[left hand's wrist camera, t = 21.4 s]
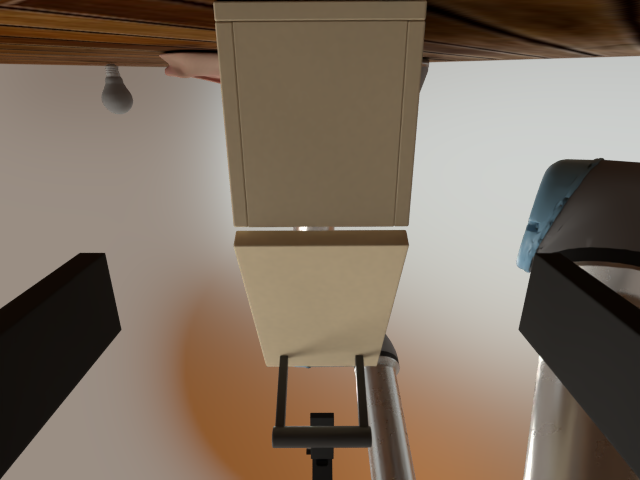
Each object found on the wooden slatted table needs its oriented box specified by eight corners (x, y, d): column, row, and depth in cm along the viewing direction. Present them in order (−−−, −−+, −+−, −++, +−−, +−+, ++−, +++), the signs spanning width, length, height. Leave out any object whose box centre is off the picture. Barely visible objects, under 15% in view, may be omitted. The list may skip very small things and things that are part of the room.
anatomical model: (165, 86, 49) (256, 85, 53) (160, 51, 48) (254, 52, 52) (161, 85, 61) (236, 84, 65) (157, 56, 59) (234, 57, 63)
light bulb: (120, 63, 81) (129, 114, 84) (130, 64, 86) (138, 112, 90) (89, 63, 80) (100, 115, 84) (101, 64, 86) (111, 113, 89)
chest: (378, 35, 34) (372, 166, 39) (261, 36, 34) (268, 167, 39) (427, -1, 19) (408, 226, 23) (212, 0, 19) (233, 227, 23)
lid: (375, 353, 37) (385, 453, 32) (267, 354, 37) (258, 454, 32) (406, 229, 24) (432, 366, 18) (235, 230, 24) (211, 367, 18)
